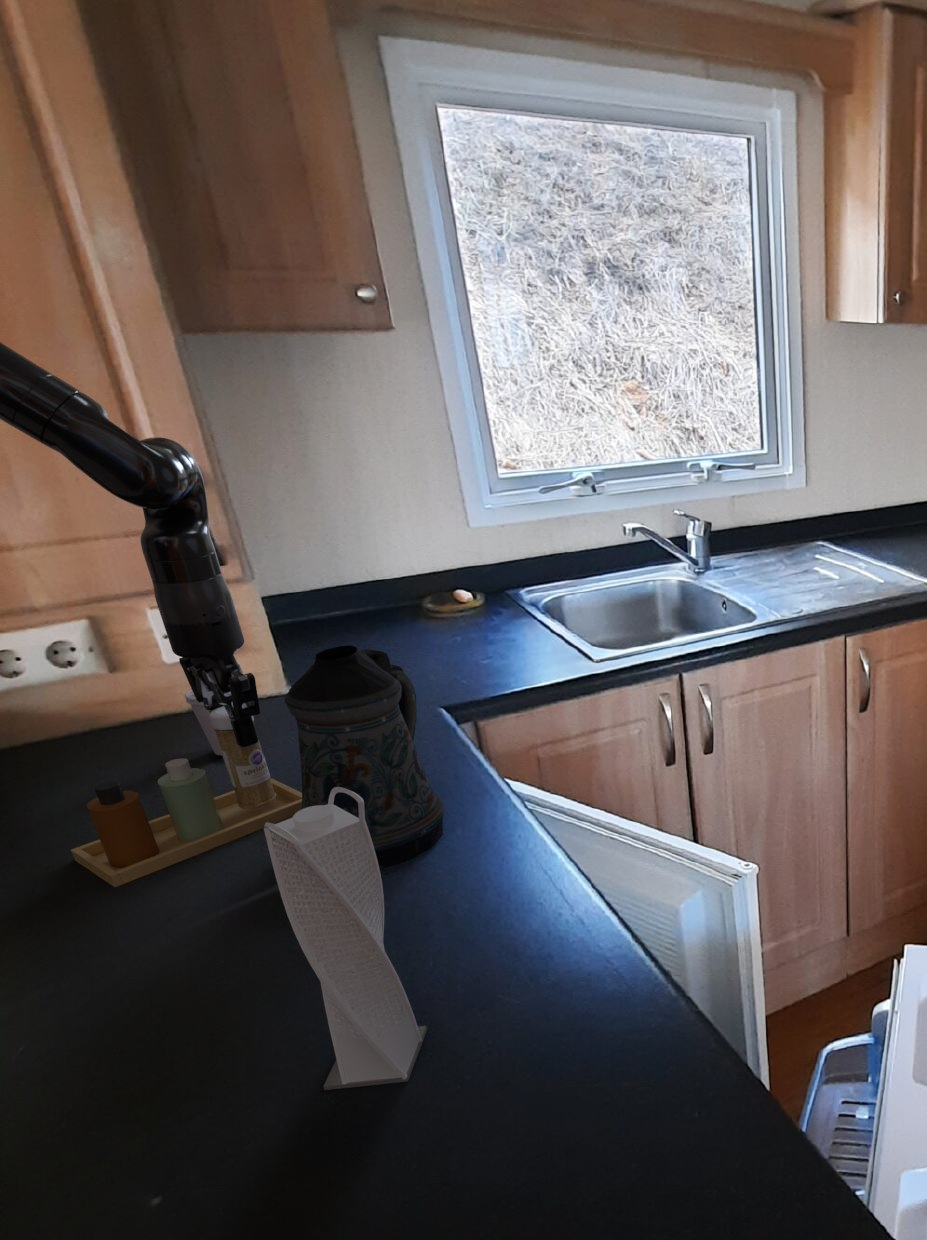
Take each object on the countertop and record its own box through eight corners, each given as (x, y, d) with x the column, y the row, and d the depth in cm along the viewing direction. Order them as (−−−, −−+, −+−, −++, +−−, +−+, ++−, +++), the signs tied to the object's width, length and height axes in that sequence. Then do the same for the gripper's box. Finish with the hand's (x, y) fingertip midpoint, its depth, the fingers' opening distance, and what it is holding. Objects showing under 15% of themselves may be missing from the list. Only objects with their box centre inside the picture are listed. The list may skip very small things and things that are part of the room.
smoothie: (196, 751, 147) (166, 664, 141) (241, 737, 152) (214, 652, 146) (216, 763, 144) (186, 674, 138) (261, 748, 149) (235, 661, 143)
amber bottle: (121, 872, 116) (91, 799, 112) (102, 860, 119) (72, 787, 114) (167, 854, 120) (140, 782, 116) (148, 843, 123) (121, 772, 118)
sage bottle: (189, 846, 122) (163, 774, 118) (169, 834, 124) (144, 764, 120) (231, 829, 126) (208, 760, 121) (211, 819, 128) (188, 750, 124)
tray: (116, 891, 114) (110, 876, 113) (76, 864, 119) (70, 849, 118) (315, 811, 132) (311, 797, 131) (273, 790, 137) (269, 777, 136)
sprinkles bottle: (266, 810, 128) (237, 716, 122) (230, 810, 128) (200, 716, 122) (284, 794, 133) (257, 702, 127) (249, 794, 132) (221, 702, 126)
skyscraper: (443, 1027, 94) (379, 768, 82) (421, 1088, 87) (348, 815, 74) (349, 1036, 93) (270, 774, 80) (320, 1099, 86) (227, 823, 73)
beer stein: (296, 884, 116) (236, 688, 105) (317, 810, 132) (266, 633, 121) (447, 859, 121) (405, 670, 110) (449, 791, 138) (413, 620, 126)
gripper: (136, 609, 119) (179, 736, 127) (194, 631, 112) (236, 764, 120) (202, 595, 125) (239, 717, 132) (261, 615, 118) (297, 743, 126)
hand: (238, 739), depth 126 cm, fingers closed on sprinkles bottle, 4 cm apart
